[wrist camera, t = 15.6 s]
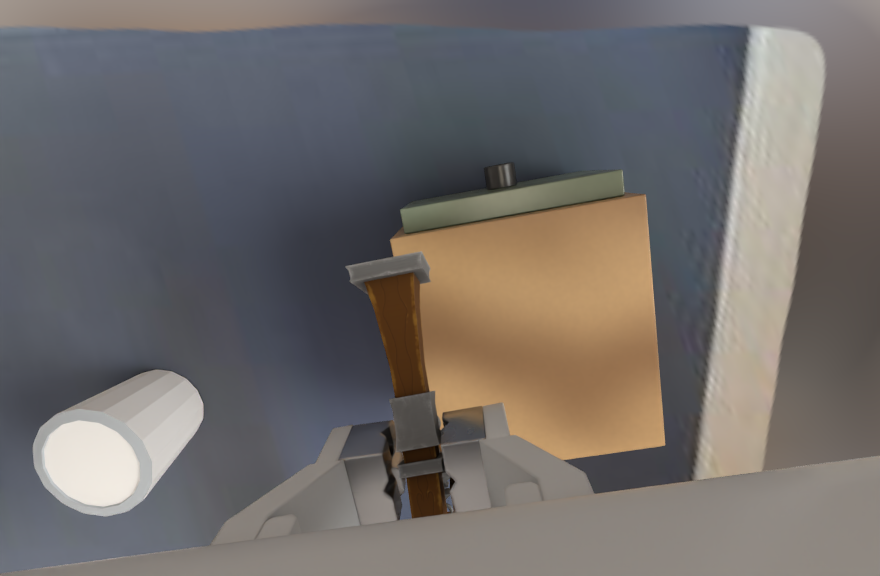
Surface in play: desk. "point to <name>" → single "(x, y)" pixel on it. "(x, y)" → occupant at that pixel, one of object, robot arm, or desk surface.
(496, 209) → the drawer
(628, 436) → the cabinet
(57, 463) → the white cup
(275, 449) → the desk surface
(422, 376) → the wooden post with brackets
